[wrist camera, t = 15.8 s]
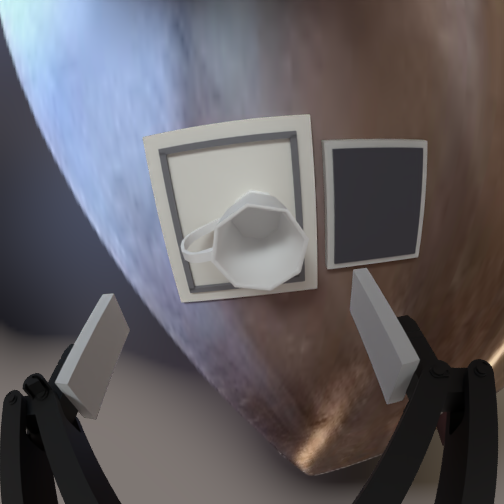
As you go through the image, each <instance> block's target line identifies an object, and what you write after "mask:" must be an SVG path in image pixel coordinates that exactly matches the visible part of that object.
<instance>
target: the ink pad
mask: <svg viewBox="0 0 504 504" xmlns="http://www.w3.org/2000/svg"><path fill="white" fill-rule="evenodd" d="M321 142H322V158H323V177H324V203H325V265H326V267H327V269H335V268H343V267H350V266H358V265H366V264H373V263H381V262H388V261H395V260H402V259H409V258H416V257H418V255H419V248H420V241H421V233H422V225H423V216H424V205H425V192H426V175H427V141H425V140H418V139H340V140H321Z"/></svg>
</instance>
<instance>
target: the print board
mask: <svg viewBox="0 0 504 504" xmlns="http://www.w3.org/2000/svg"><path fill="white" fill-rule="evenodd" d="M143 142H144V148H145V153H146V159H147V164H148V169H149V174H150V179H151V184H152V189H153V193H154V198H155V202H156V207H157V211H158V216H159V220H160V224H161V228H162V232H163V236H164V240H165V244H166V248H167V252H168V256H169V260H170V264H171V267H172V271H173V275H174V278H175V282H176V285H177V289H178V292H179V296H180V299H181V302H194V301H205V300H216V299H227V298H237V297H247V296H257V295H266V294H275V293H284V292H292V291H301V290H309V289H316V288H317V224H316V198H315V178H314V161H313V146H312V133H311V121H310V114H305V115H288V116H276V117H264V118H254V119H245V120H237V121H229V122H222V123H215V124H209V125H202V126H196V127H190V128H185V129H179V130H174V131H169V132H164V133H159V134H154V135H150V136H145V137H143ZM249 190H254V191H261V192H268V193H269V194H270V195H271V196H274V197H276V198H277V199H278V200H279V201H280V202H281V203H282V204H283V205H284V206H285V207H286V208H287V209H288V210H289V211H290V213H291V214H292V216H293V217H294V218H295V220H296V221H297V223H298V224H299V225H300V227H301V228H302V230H303V231H304V232H305V234H306V235H307V237H308V238H309V241H308V245H307V249H306V253H305V257H304V261H303V265H302V269H301V272H300V273H299V274H297V275H295V276H294V277H292V278H291V279H289V280H287V281H286V282H284V283H283V284H281V285H279V286H278V287H276V288H275V289H273V290H271V291H266V290H256V289H248V288H239V287H234V286H233V285H232V284H231V282H230V281H229V280H228V279H227V278H226V277H225V276H224V275H223V274H222V273H221V272H220V271H219V269H218V268H217V267H216V266H215V265H214V264H213V263H212V262H211V261H207V262H202V263H190V262H188V261H186V260H185V259H184V256H183V254H182V251H181V243H182V240H183V239H184V238H185V237H186V236H187V235H188V234H190V233H191V232H193V231H194V230H196V229H198V228H200V227H202V226H204V225H206V224H208V223H210V222H212V221H214V220H216V219H219V218H221V217H222V216H223V215H224V213H225V212H226V210H227V209H228V208H229V207H231V206H232V205H233V204H235V200H237V199H238V198H240V197H241V196H242V195H244V194H245V193H247V192H248V191H249ZM213 240H214V230H213V231H211V232H209V233H208V234H206V235H204V236H202V237H200V238H199V239H197V240H195V241H194V242H193V243H192V244H191V245H190V246H189V247H188V249H187V251H189V252H199V251H202V250H206V249H209V248H212V247H213Z"/></svg>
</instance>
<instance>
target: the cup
mask: <svg viewBox="0 0 504 504" xmlns="http://www.w3.org/2000/svg"><path fill="white" fill-rule="evenodd" d="M213 230H214V240H213V247H212V248H209V249H206V250H202V251H199V252H189V251H187V249H188V247H189V246H190V245H191V244H192V243H193V242H194V241H195V240H197V239H199V238H200V237H202V236H204V235H206V234H208V233H209V232H211V231H213ZM308 241H309V238H308V237H307V235H306V234H305V232H304V231H303V230H302V228H301V227H300V225H299V224H298V223H297V221H296V220H295V218H294V217H293V216H292V214H291V213H290V211H289V210H288V209H287V208H286V207H285V206H284V205H283V204H282V203H281V202H280V201H279V200H278V199H277V198H276V197H274V196H271V195H270V194H269V193H268V192H261V191H254V190H249V191H248V192H247V193H245V194H244V195H242V196H241V197H240V198H238V199H237V200H235V204H233V205H232V206H231V207H229V208H228V209H227V210H226V212H225V213H224V215H223V216H222V217H221V218H219V219H216V220H214V221H212V222H210V223H208V224H206V225H204V226H202V227H200V228H198V229H196V230H194V231H193V232H191V233H190V234H188V235H187V236H186V237H185V238H184V239H183V240H182V243H181V251H182V254H183V256H184V259H185V260H186V261H188V262H190V263H202V262H207V261H211V262H212V263H213V264H214V265H215V266H216V267H217V268H218V269H219V271H220V272H221V273H222V274H223V275H224V276H225V277H226V278H227V279H228V280H229V281H230V282H231V284H232V285H233V286H234V287H239V288H248V289H256V290H266V291H271V290H273V289H275V288H276V287H278V286H279V285H281V284H283V283H284V282H286V281H287V280H289V279H291V278H292V277H294V276H295V275H297V274H299V273H300V272H301V269H302V265H303V261H304V257H305V253H306V249H307V245H308Z"/></svg>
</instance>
